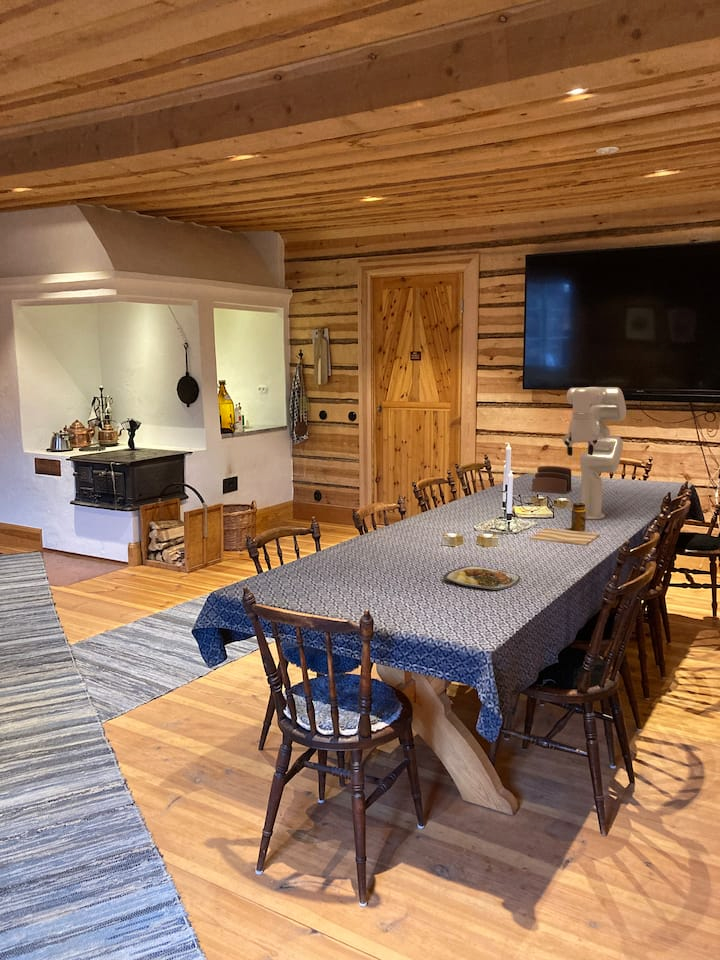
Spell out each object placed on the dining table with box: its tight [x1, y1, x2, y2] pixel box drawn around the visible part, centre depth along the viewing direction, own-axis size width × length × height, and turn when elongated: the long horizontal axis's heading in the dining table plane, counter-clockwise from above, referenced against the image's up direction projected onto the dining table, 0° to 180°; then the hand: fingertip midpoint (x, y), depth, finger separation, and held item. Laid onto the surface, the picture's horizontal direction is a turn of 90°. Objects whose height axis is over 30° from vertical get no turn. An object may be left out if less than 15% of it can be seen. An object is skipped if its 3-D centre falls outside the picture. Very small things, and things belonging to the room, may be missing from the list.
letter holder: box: [531, 465, 572, 495], centre depth 440 cm, size 10×20×14 cm, turn 59°
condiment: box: [564, 502, 588, 532], centre depth 344 cm, size 7×8×12 cm
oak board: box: [529, 527, 601, 547], centre depth 331 cm, size 20×24×1 cm
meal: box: [442, 565, 521, 591], centre depth 273 cm, size 25×25×3 cm
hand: (580, 455), depth 346 cm, fingers open, 9 cm apart
